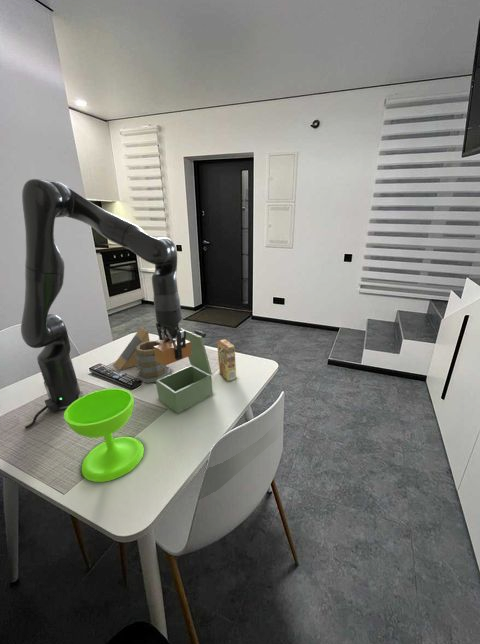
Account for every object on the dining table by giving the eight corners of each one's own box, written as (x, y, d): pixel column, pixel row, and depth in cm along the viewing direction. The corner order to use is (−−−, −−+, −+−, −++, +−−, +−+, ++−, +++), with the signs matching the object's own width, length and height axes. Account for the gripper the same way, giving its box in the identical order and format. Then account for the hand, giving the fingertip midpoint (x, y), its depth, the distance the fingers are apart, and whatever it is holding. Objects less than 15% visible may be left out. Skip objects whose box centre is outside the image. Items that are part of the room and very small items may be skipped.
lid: (200, 337, 98) (211, 331, 101) (179, 328, 106) (190, 323, 109) (210, 375, 106) (220, 368, 110) (190, 364, 114) (200, 358, 117)
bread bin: (177, 413, 99) (174, 393, 96) (158, 399, 107) (155, 380, 104) (212, 394, 110) (211, 375, 107) (193, 382, 118) (191, 365, 115)
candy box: (236, 378, 121) (235, 345, 115) (227, 381, 119) (226, 348, 113) (227, 370, 128) (225, 338, 122) (218, 372, 125) (216, 340, 120)
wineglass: (115, 432, 90) (103, 383, 84) (156, 446, 85) (146, 395, 78) (67, 471, 77) (48, 416, 70) (112, 490, 71) (96, 432, 65)
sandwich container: (113, 364, 133) (106, 334, 128) (146, 354, 143) (141, 326, 137) (119, 370, 127) (112, 339, 122) (152, 360, 137) (148, 331, 131)
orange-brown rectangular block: (164, 365, 89) (162, 351, 87) (155, 360, 92) (153, 346, 90) (191, 355, 96) (190, 341, 94) (182, 350, 99) (181, 337, 97)
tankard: (151, 385, 116) (146, 352, 110) (132, 377, 122) (125, 345, 116) (187, 365, 131) (184, 335, 126) (168, 359, 138) (164, 330, 132)
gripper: (144, 304, 89) (152, 353, 95) (169, 314, 80) (175, 367, 86) (166, 299, 94) (172, 346, 101) (191, 308, 85) (196, 359, 92)
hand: (173, 355), depth 94 cm, fingers closed on orange-brown rectangular block, 5 cm apart
